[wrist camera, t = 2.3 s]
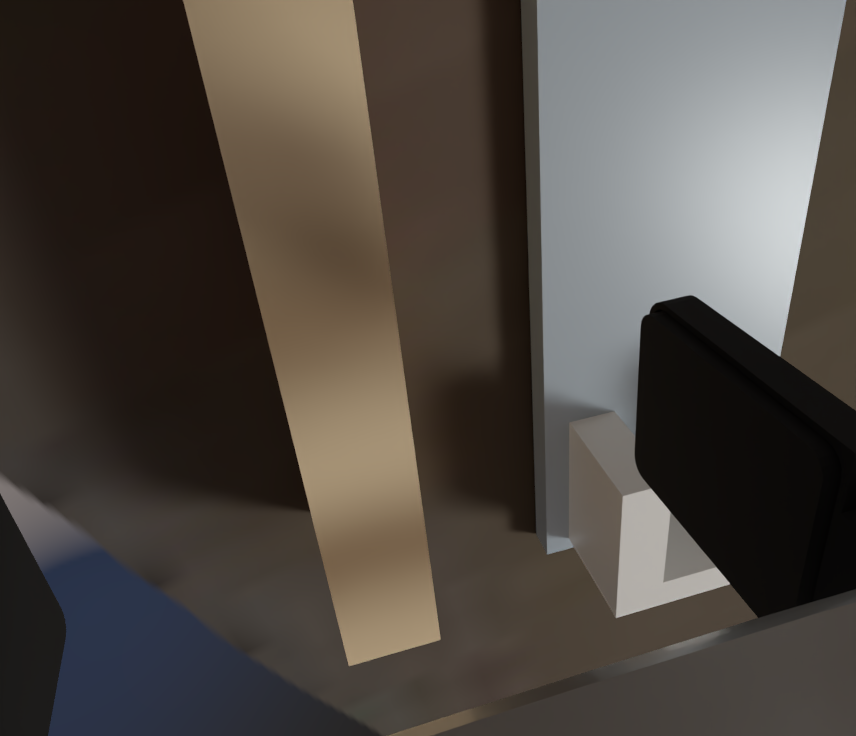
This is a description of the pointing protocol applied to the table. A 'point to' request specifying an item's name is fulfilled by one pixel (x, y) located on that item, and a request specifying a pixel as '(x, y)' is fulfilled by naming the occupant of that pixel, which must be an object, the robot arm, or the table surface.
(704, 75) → the endcap board
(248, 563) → the table surface
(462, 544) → the table surface
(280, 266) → the slat
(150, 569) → the table surface
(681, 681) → the robot arm
